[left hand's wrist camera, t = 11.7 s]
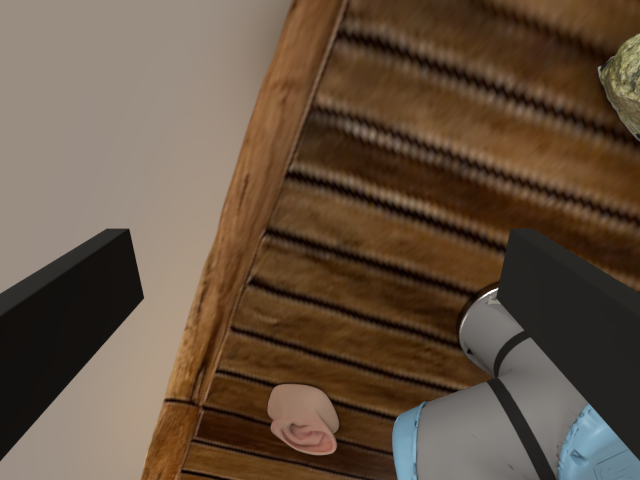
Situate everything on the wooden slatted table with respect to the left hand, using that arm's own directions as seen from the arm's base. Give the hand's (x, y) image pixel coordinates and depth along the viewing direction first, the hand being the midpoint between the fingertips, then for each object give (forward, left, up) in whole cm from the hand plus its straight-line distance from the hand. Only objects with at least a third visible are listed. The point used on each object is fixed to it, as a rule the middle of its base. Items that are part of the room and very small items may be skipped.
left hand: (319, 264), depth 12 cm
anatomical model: (-9, +43, -34) cm, 56 cm away
